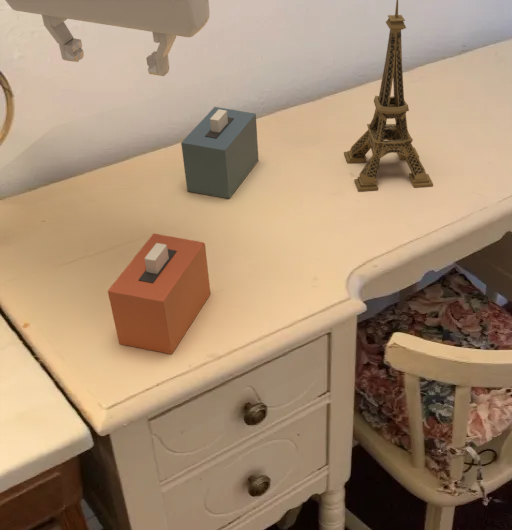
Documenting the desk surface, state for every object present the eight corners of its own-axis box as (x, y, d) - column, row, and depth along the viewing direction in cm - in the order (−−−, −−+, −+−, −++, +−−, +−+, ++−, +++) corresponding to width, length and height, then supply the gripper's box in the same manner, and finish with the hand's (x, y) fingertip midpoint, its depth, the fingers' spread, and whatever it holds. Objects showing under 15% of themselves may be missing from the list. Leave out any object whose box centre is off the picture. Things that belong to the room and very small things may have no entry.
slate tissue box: (229, 198, 110) (223, 137, 104) (187, 191, 111) (179, 129, 105) (258, 160, 118) (255, 100, 112) (219, 153, 119) (213, 93, 113)
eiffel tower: (414, 149, 123) (429, -33, 105) (433, 186, 115) (452, -4, 98) (343, 153, 121) (347, -32, 103) (358, 191, 113) (364, -2, 96)
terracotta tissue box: (171, 354, 88) (160, 287, 82) (118, 344, 89) (103, 276, 82) (210, 293, 96) (203, 228, 90) (161, 284, 96) (151, 218, 90)
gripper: (-36, -93, 74) (5, 62, 83) (179, -64, 71) (196, 94, 80) (5, -110, 78) (39, 40, 88) (208, -83, 75) (221, 69, 85)
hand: (116, 66), depth 84 cm, fingers open, 8 cm apart
